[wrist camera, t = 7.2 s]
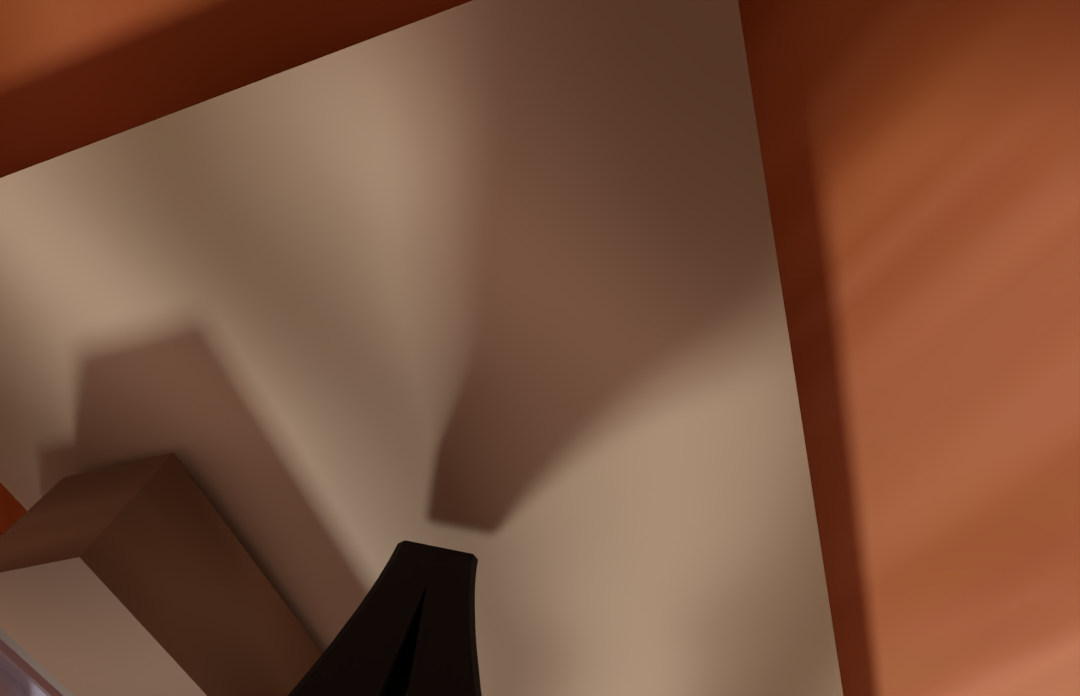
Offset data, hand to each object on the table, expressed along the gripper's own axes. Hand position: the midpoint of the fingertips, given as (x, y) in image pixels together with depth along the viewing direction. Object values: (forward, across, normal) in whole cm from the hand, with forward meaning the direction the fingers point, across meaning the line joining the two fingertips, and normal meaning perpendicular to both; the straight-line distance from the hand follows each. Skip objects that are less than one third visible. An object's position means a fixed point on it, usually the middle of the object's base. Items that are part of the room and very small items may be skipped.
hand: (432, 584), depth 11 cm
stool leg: (+1, +3, +5) cm, 6 cm away
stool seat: (+3, 0, +2) cm, 3 cm away
